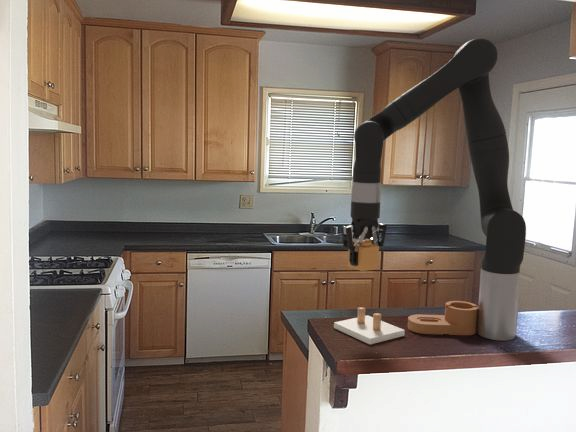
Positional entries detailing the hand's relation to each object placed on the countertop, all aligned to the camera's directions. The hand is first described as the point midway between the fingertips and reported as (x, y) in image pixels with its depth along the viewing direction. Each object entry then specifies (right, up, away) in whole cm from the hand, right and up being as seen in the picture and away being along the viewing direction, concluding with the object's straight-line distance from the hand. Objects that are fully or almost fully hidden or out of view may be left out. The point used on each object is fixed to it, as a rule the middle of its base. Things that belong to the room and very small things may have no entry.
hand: (363, 263), depth 135 cm
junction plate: (+1, -18, 0) cm, 18 cm away
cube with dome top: (0, -1, 0) cm, 1 cm away
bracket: (+22, -18, +3) cm, 28 cm away
